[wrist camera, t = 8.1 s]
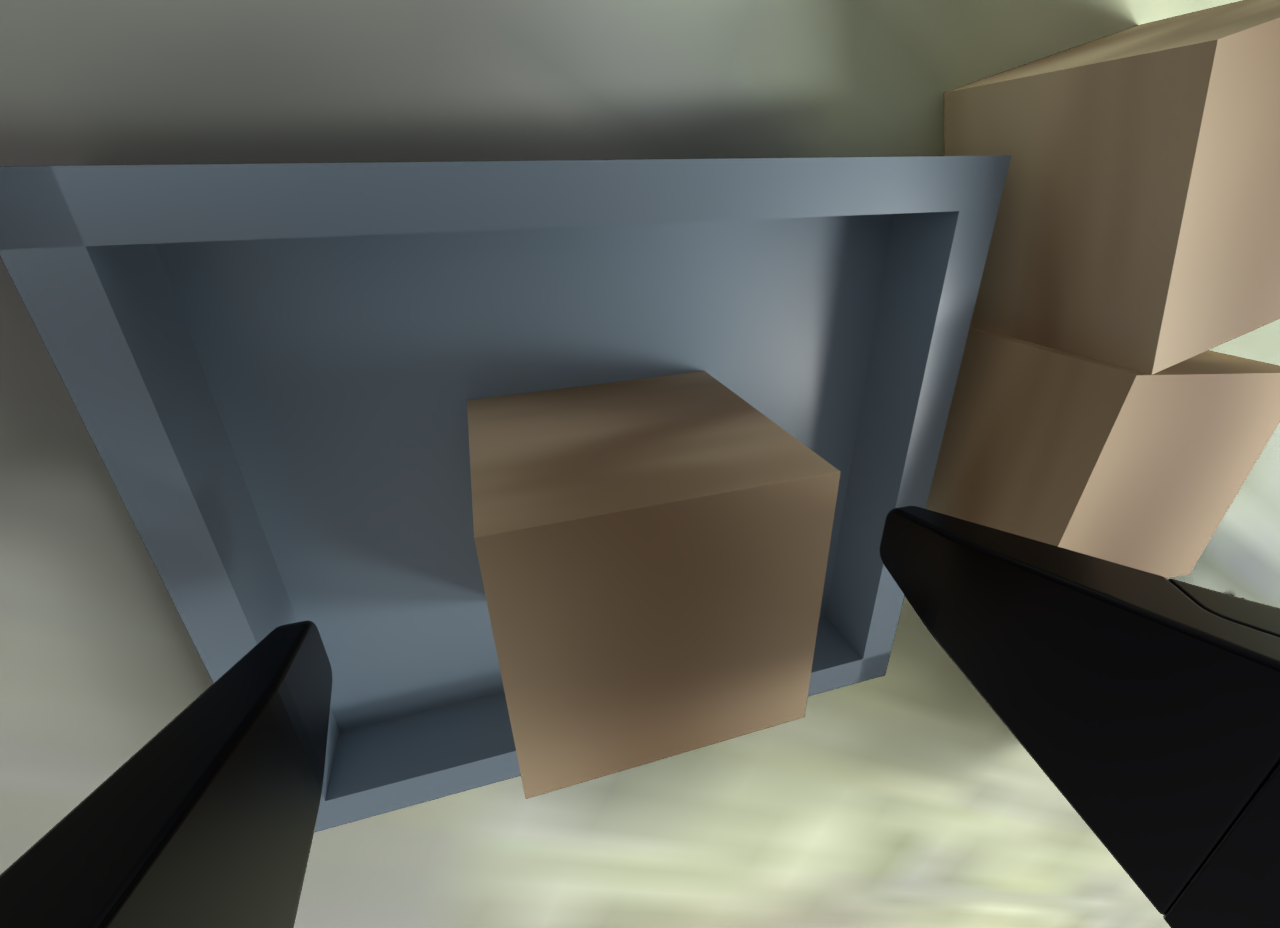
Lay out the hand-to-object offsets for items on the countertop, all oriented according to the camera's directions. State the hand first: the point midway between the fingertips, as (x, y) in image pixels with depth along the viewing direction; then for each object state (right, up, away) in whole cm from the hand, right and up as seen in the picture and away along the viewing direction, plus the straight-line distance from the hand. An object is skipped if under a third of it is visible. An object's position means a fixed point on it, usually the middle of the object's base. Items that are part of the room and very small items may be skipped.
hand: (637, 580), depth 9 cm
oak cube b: (+9, +3, +6) cm, 11 cm away
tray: (-1, +2, +3) cm, 4 cm away
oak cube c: (+8, +8, +3) cm, 12 cm away
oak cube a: (-1, +1, +3) cm, 3 cm away
